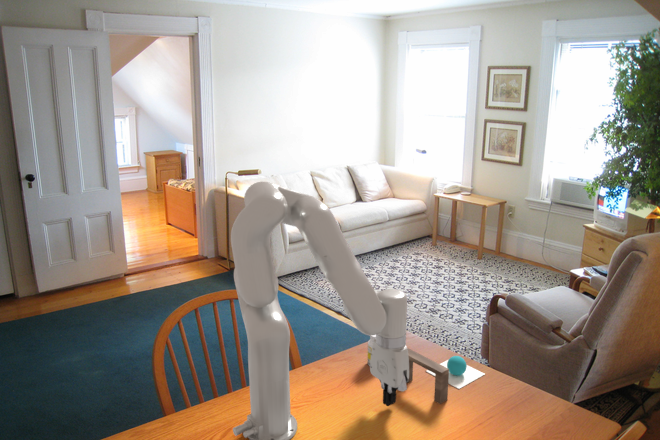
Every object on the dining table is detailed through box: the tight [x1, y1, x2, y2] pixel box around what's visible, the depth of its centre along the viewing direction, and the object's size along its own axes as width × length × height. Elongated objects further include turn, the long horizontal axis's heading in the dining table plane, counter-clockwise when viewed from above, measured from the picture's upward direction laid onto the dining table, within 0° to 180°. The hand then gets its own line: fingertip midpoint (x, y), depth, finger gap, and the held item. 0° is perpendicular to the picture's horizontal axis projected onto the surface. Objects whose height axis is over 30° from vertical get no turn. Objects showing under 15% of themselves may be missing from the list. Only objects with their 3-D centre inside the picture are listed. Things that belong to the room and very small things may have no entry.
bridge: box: [406, 347, 449, 405], centre depth 143 cm, size 3×14×9 cm, turn 39°
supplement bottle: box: [367, 335, 376, 367], centre depth 157 cm, size 5×5×10 cm
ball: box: [447, 355, 468, 376], centre depth 151 cm, size 6×6×6 cm
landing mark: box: [425, 359, 486, 390], centre depth 153 cm, size 12×12×1 cm
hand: (389, 402), depth 136 cm, fingers closed
